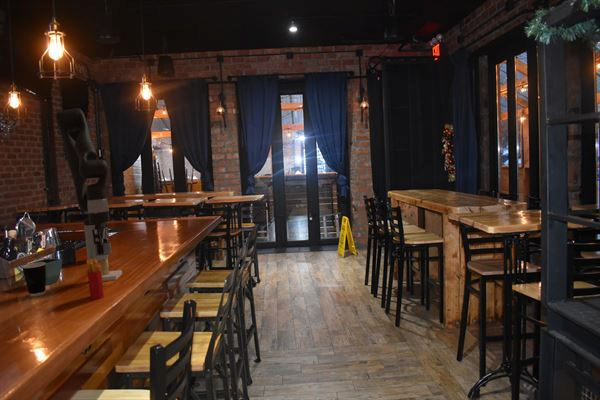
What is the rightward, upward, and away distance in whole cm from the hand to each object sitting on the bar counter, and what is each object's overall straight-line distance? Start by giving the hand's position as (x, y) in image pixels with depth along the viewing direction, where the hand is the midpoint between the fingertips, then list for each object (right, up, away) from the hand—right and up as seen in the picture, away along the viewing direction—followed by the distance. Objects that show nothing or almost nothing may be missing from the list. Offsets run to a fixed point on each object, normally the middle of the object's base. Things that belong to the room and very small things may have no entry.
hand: (103, 252), depth 194 cm
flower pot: (-22, -12, -1) cm, 25 cm away
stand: (+1, -10, +1) cm, 10 cm away
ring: (0, -1, 0) cm, 1 cm away
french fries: (+9, -12, -26) cm, 30 cm away
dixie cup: (-17, -13, -17) cm, 28 cm away
